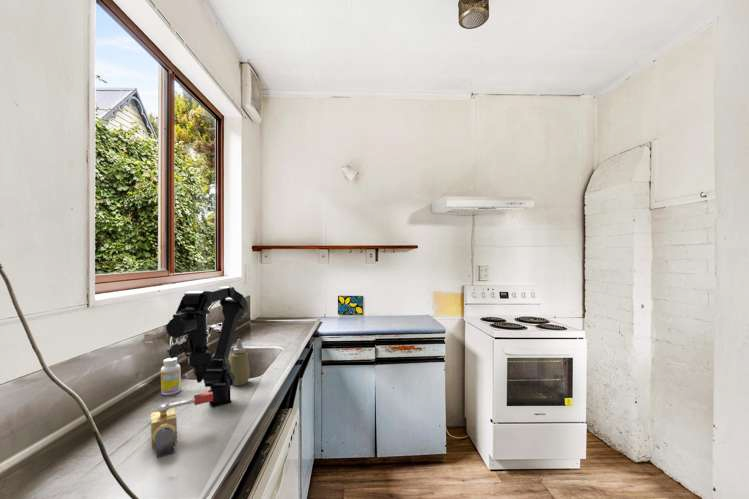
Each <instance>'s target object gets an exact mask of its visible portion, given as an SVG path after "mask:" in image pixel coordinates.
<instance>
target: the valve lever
mask: <svg viewBox="0 0 749 499" xmlns="http://www.w3.org/2000/svg"><path fill="white" fill-rule="evenodd" d="M211 401H213V393H212V392H208V391H207V392H203V393H199V394H195V395H193V398H189V399H185V400H184V399H183V400H181V401H175V402H171V403H168V402H165V403H161V404H159V405H158V404H157V405H156V410H157V412H164V411H167V410H168V409H171V408H178V407H182V406H187V405H191V404H194V406H197V405H202V404H206V403H209V402H211Z"/></svg>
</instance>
